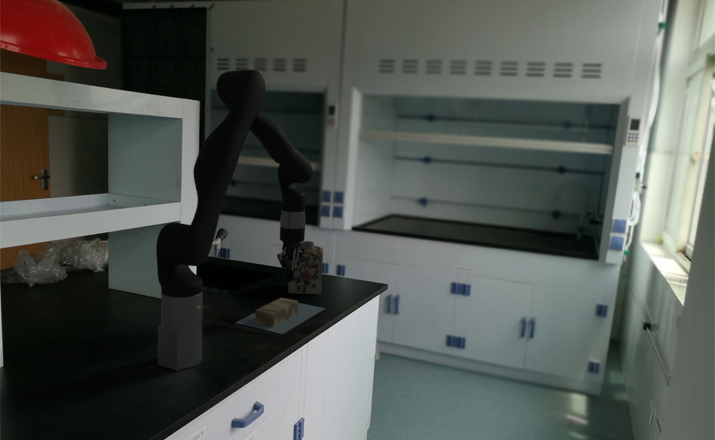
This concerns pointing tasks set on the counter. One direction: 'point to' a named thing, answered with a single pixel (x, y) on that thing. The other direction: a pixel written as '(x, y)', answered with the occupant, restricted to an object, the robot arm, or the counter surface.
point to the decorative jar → (308, 271)
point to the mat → (303, 314)
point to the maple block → (276, 312)
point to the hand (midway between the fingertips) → (290, 280)
